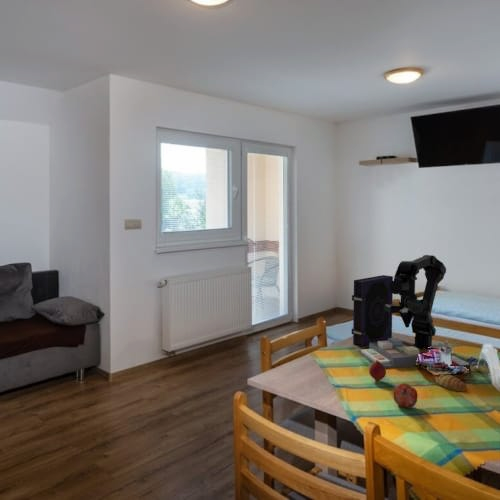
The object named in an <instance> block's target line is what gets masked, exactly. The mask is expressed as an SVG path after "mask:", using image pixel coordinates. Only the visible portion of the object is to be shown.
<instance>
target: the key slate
mask: <svg viewBox="0 0 500 500" xmlns="http://www.w3.org/2000/svg"><path fill="white" fill-rule="evenodd" d="M387 341H389V342H391V343H392V346H401V345H402V343H403V342H404V341H403V340H402V339H400V338H398V337H391V338H388V339H387Z"/></svg>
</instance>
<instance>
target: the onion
mask: <svg viewBox="0 0 500 500" xmlns="http://www.w3.org/2000/svg"><path fill="white" fill-rule="evenodd" d="M386 369H387V368H386ZM386 369H385V367H384V366H383V365H382V364H381V363H380V362H379V361H378V360H376V362H375V363H371V365H370V367H369V370H368V372H369V375H370V376H371V378H372V379H373V380H374V381H375V382H380V381H381V380H383V379H384V378H385V376H386V375H387V371H386Z"/></svg>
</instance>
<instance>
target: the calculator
mask: <svg viewBox="0 0 500 500" xmlns="http://www.w3.org/2000/svg"><path fill="white" fill-rule="evenodd" d="M451 356H452V364H451V365H450V366H464V367H466V368H467V369H469V374H471V364H469V363H468V362H466V361H465V360H463V359H461V358H459V357H458V356H455V355H451ZM446 366H448V365H444V364H442V365H438V366H435V368H440V367H446Z"/></svg>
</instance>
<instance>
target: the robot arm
mask: <svg viewBox="0 0 500 500" xmlns="http://www.w3.org/2000/svg"><path fill="white" fill-rule="evenodd" d="M422 269H423V270H424V275H425V278H426V283H425V286H424V291H423V295H422V299H418V295H417V294H416V281H417V280H418V278H417V275H418V274H419V273H420V271H421V270H422ZM446 273H447V267H446V266H445V264H444V263H443V262H442V261H441V260H439V259H438V258H437V257H436V256H435V255H432V254H431V255H429V254H425V255H423V256H421V257H417V258H416V259H413V260H402V261H400V262H399V264H398V266H397V267H396V271H395V274H394V276H393V281H392V282H391V283H390V285H389V289H390V291H391V292H392V293H393V295H398V296H400V301H399V302H398V304H395V303H392V304H386V305H385V306H384V310H385V311H387V312H389V313H392V314H398V313H399V315H400V317H401V319H402V322H403V325H404V327H405V328H409V327H411V330H412V332H411V333H412V334H415V336H414V344H413V345H412V346H414V347H415V348H417V347H418V348H417V349H419V348H421V349H420V350H424V349H423V348H428V347H430V346H432V347H433V337H435V335H436V331H437V329H436V328H435V326H434V324H433V323H434V320H433V317H432V311H433V310H432V309H433V306H434V302H435V301H434V300H435V298H436V293H437V289H438V285H439V283H441V282H442V280H444V279H445V278H444V277H445V275H446ZM410 324H411V326H410Z"/></svg>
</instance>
